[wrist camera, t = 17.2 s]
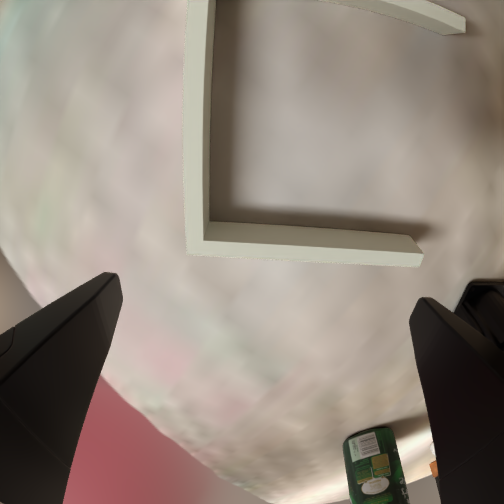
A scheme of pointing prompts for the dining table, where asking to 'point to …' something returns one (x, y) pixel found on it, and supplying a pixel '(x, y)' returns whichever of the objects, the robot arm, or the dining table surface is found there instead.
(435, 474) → the whiskey bottle
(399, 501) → the coffee jar
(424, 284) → the dining table surface
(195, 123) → the open square frame
